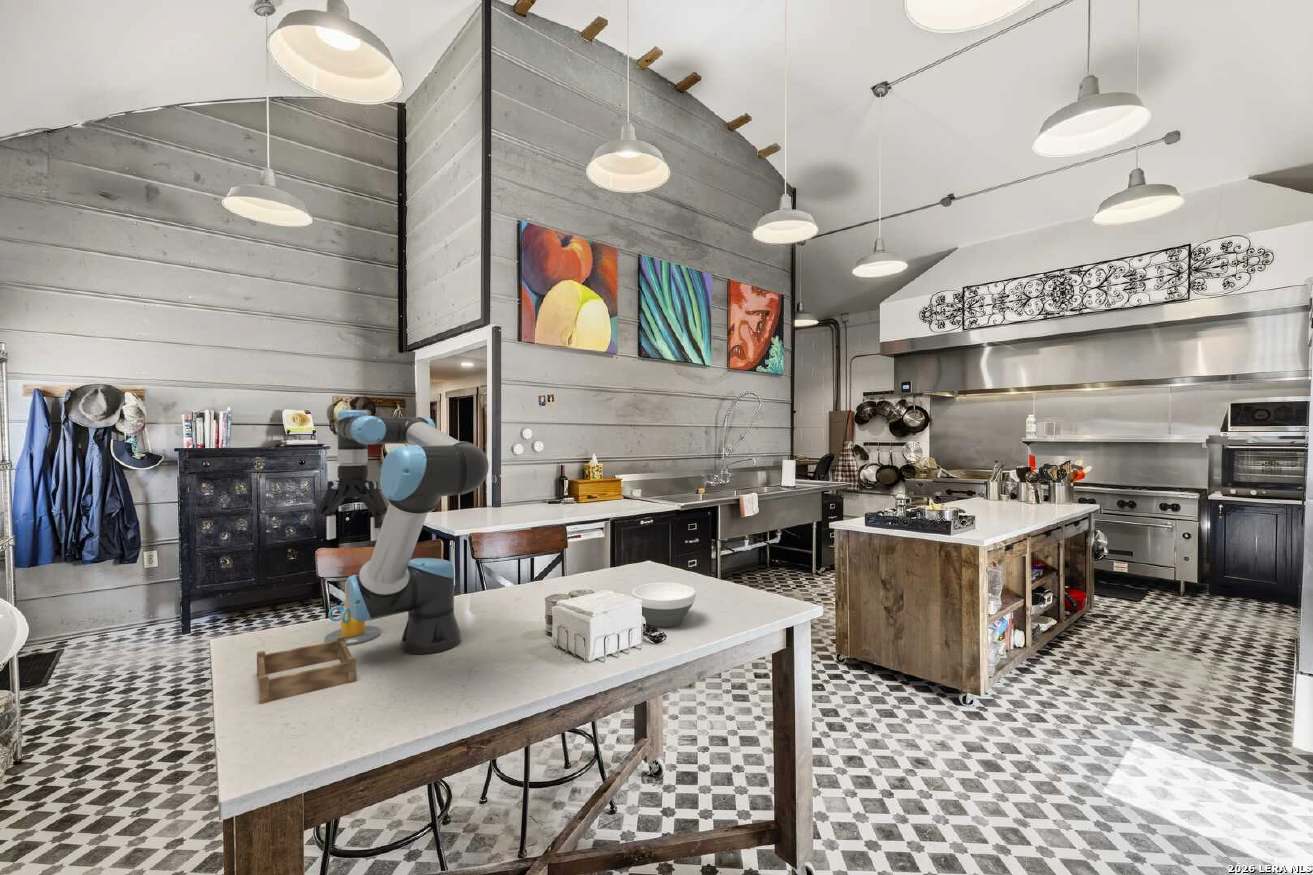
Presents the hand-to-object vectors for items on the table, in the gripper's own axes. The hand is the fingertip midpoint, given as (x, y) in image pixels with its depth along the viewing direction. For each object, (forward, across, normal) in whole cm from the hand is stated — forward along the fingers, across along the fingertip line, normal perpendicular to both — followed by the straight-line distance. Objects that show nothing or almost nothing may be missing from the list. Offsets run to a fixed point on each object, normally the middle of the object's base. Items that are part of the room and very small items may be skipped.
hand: (353, 539), depth 159 cm
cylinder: (+27, 0, 0) cm, 27 cm away
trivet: (+28, 0, 0) cm, 28 cm away
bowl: (+28, -86, -25) cm, 94 cm away
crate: (+28, -7, +26) cm, 39 cm away
